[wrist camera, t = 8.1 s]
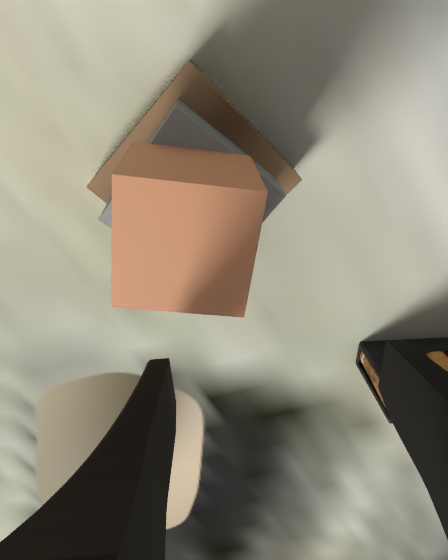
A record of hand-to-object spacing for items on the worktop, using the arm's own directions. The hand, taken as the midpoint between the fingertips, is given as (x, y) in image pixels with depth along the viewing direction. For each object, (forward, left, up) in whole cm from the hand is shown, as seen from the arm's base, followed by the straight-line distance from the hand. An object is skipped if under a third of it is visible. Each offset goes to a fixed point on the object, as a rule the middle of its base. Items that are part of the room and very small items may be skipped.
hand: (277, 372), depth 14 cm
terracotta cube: (+5, -1, -6) cm, 8 cm away
